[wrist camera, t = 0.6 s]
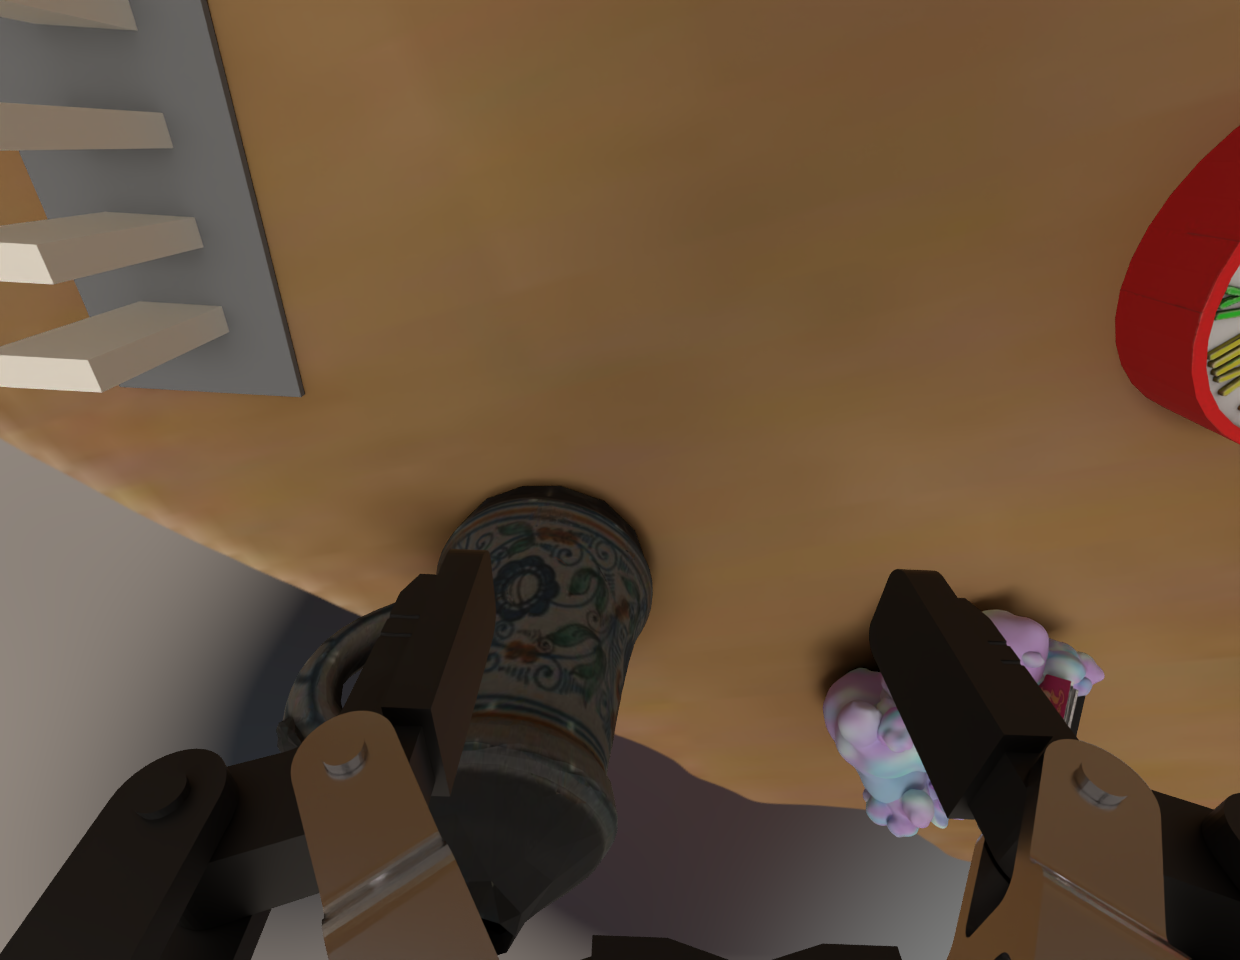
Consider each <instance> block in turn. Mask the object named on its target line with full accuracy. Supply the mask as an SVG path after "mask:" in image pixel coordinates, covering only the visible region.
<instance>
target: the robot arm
mask: <svg viewBox="0 0 1240 960" xmlns="http://www.w3.org/2000/svg"><path fill="white" fill-rule="evenodd" d="M495 620H496V604H495V594H494V585H493V575H492V566H491V557H490V553H489V551H487V550H466V549H450V550H449V551H448V552H447V554H446V556H445V559H444V561H443V563H442V566H441V568H440V570H439V573H438V575H433V574H420V575H419V576H418V577H416V578H415V579H414V580H413V581H412V582H411V583H410V584H409V585H408V586H407V587H406V588H405V589H403V590H402V591H401V592H400V594H399V596H398V598H397V600H396V602H395V604H394V606H393V608H392V610H391V612H390V617H389V619H387V620H386V622H385V624H384V626H383V628H382V630H381V635H380V637H378V639H377V641H376V643H375V645H374V647H373V649H372V651H371V653H370V655H369V657H368V659H367V661H366V663H365V665H364V667H363V669H362V671H361V673H360V675H359V677H358V679H357V681H356V683H355V685H354V687H353V689H352V691H351V693H350V695H349V697H348V699H347V702H346V703H345V706H344V707H343V709H342V711H341V712H340V714H339V715H338V716H336V717H333V718H332V719H330V720H328V721H326V722H324V723H323V724H321V725H320V726H319V727H317V728H316V729H315V730H314V731H313V732H311V733H310V734H309V735H308V736H307V737H306V739H305V740H304V741H303V742H302V744H301V745H300V746H299V747H296V748H294V749H292V750H289V751H286V752H282V753H279V754H276V755H271V756H267V757H263V758H259V759H256V760H252V761H248V762H244V763H240V764H236V765H232V766H228V767H227V766H226V765H225V763H224V761H223V760H222V758H221V757H220V756H219V755H218V754H216V753H214V752H212V751H209V750H205V749H188V750H183V751H178V752H175V753H172V754H169V755H166V756H164V757H162V758H160V759H158V760H156V761H154V762H152V763H150V764H149V765H147V766H145V767H144V768H143V769H141V770H140V771H138V772H137V773H135V774H134V775H133V776H132V777H131V778H129V779H128V780H127V781H126V782H125V783H124V784H123V785H122V786H121V787H120V788H119V789H118V790H117V791H116V792H115V794H114V795H113V796H112V797H111V799H110V800H109V801H108V803H107V804H106V806H105V807H104V809H103V810H102V811H101V813H100V814H99V815H98V817H97V819H96V820H95V821H94V823H93V824H92V825H91V827H90V828H89V829H88V831H87V832H86V834H85V835H84V837H83V838H82V839H81V841H80V842H79V844H78V845H77V846H76V848H75V849H74V851H73V852H72V854H71V855H70V856H69V858H68V859H67V860H66V862H65V863H64V865H63V866H62V868H61V869H60V871H59V872H58V873H57V875H56V876H55V877H54V879H53V880H52V882H51V883H50V884H49V886H48V887H47V889H46V890H45V892H44V893H43V894H42V896H41V897H40V898H39V900H38V901H37V903H36V904H35V906H34V907H33V908H32V910H31V911H30V913H29V914H28V915H27V917H26V918H25V920H24V921H23V922H22V924H21V926H20V927H19V928H18V930H17V931H16V932H15V934H14V935H13V936H12V938H11V939H10V941H9V942H8V944H7V945H6V946H5V948H4V949H3V951H2V952H1V954H0V960H251V958H252V955H253V953H254V950H255V948H256V945H257V943H258V940H259V937H260V935H261V933H262V931H263V928H264V926H265V923H266V920H267V918H268V916H269V913H270V911H271V908H274V907H277V906H280V905H283V904H287V903H290V902H293V901H296V900H299V899H302V898H305V897H308V896H311V895H314V894H317V893H320V897H321V901H322V905H323V911H324V919H323V920H322V930H323V936H324V941H325V946H326V951H327V955H328V959H329V960H499V958H498V956H497V953H496V951H495V949H494V947H493V944H492V942H491V940H490V937H489V935H488V933H487V931H486V928H485V926H484V924H483V922H482V919H481V917H480V915H479V912H478V910H477V908H476V906H475V903H474V901H473V899H472V896H471V894H470V892H469V890H468V887H467V885H466V883H465V880H464V878H463V876H462V874H461V871H460V869H459V867H458V865H457V862H456V860H455V858H454V856H453V854H452V852H451V850H450V848H449V846H448V844H447V843H446V841H443V839H442V837H441V835H440V833H439V831H438V829H437V827H436V824H435V822H434V820H433V817H432V815H431V813H430V810H429V808H428V804H429V801H430V798H431V796H447V797H450V795H451V791H452V788H453V784H454V780H455V777H456V773H457V769H458V765H459V762H460V758H461V754H462V751H463V747H464V743H465V739H466V736H467V732H468V728H469V725H470V721H471V717H472V713H473V710H474V706H475V702H476V699H477V695H478V691H479V687H480V684H481V680H482V676H483V673H484V669H485V665H486V661H487V658H488V654H489V650H490V647H491V643H492V639H493V635H494V629H495ZM869 641H870V647H871V651H872V654H873V656H874V659H875V661H876V663H877V665H878V667H879V670H880V672H881V674H882V676H883V678H884V681H885V683H886V685H887V687H888V689H889V692H890V694H891V696H892V698H893V700H894V703H895V705H896V707H897V709H898V711H899V713H900V716H901V718H902V720H903V722H904V724H905V727H906V729H907V731H908V733H909V735H910V738H911V740H912V742H913V744H914V746H915V749H916V751H917V753H918V755H919V757H920V759H921V762H922V764H923V766H924V768H925V770H926V773H927V775H928V777H929V779H930V781H931V784H932V786H933V788H934V790H935V792H936V795H937V797H938V799H939V801H940V803H941V806H942V808H943V810H944V812H945V814H946V816H947V818H949V819H975V820H976V822H977V824H978V826H979V828H980V830H981V832H982V834H981V835H980V837H979V838H978V840H977V842H976V844H975V848H974V852H973V857H972V861H971V866H970V870H969V874H968V879H967V883H966V888H965V892H964V897H963V901H962V906H961V910H960V914H959V919H958V923H957V927H956V932H955V936H954V940H953V944H952V947H951V950H950V953H949V955H948V957H947V960H1240V793H1237V794H1233V795H1231V796H1229V797H1228V798H1227V799H1226V800H1224V801H1223V802H1222V803H1221V804H1220V805H1219V806H1218V807H1216V808H1215V809H1210V808H1207V807H1204V806H1201V805H1198V804H1195V803H1191V802H1188V801H1185V800H1182V799H1179V798H1176V797H1172V796H1169V795H1166V794H1163V793H1160V792H1157V791H1153V790H1151V789H1150V788H1149V787H1148V785H1147V784H1146V783H1145V782H1144V780H1143V779H1142V778H1141V777H1140V776H1139V775H1138V774H1137V773H1136V772H1135V771H1134V770H1133V769H1131V768H1130V767H1129V766H1128V765H1127V764H1125V763H1124V762H1123V761H1121V760H1120V759H1119V758H1117V757H1115V756H1114V755H1112V754H1111V753H1109V752H1107V751H1105V750H1103V749H1102V748H1099V747H1097V746H1095V745H1092V744H1089V743H1086V742H1083V741H1079V740H1078V739H1077V737H1076V736H1075V735H1074V733H1073V732H1072V730H1071V729H1070V728H1069V726H1068V725H1067V724H1066V722H1065V721H1064V719H1063V718H1062V717H1061V715H1060V714H1059V713H1058V711H1057V710H1056V708H1055V707H1054V706H1053V704H1052V703H1051V702H1050V700H1049V699H1048V697H1047V696H1046V695H1045V693H1044V692H1043V691H1042V689H1041V688H1040V686H1039V685H1038V684H1037V682H1036V681H1035V680H1034V678H1033V677H1032V675H1031V674H1030V673H1029V671H1028V670H1027V669H1026V667H1025V666H1024V665H1021V664H1020V661H1021V660H1020V659H1019V658H1018V656H1017V655H1016V653H1015V652H1014V651H1013V649H1012V648H1011V647H1010V646H1007V644H1006V642H1007V641H1006V640H1005V638H1004V637H1003V636H1002V634H1001V633H1000V631H999V630H998V629H997V627H996V626H995V625H994V623H993V622H992V620H991V619H990V618H989V617H988V616H986V615H985V614H984V613H983V612H981V611H980V610H979V609H978V608H976V607H975V606H974V605H973V604H972V603H970V602H969V601H968V600H967V599H965V598H957V596H956V595H955V593H954V592H953V591H952V589H951V588H950V586H949V585H948V583H947V582H946V580H945V579H944V577H943V576H942V575H941V574H940V573H939V572H937V571H929V570H905V569H896V570H894V571H893V572H892V573H891V574H890V576H889V578H888V581H887V583H886V586H885V588H884V591H883V593H882V596H881V598H880V601H879V603H878V606H877V608H876V611H875V614H874V616H873V619H872V621H871V624H870V630H869ZM582 960H728V959H724V958H722V957H719V956H716V955H714V954H711V953H708V952H705V951H703V950H700V949H697V948H694V947H691V946H689V945H686V944H683V943H680V942H678V941H675V940H672V939H669V938H656V937H629V936H601V935H593V939H592V956H591V957H588V958H585V959H582ZM773 960H902V959H901V956H900V953H899V950H898V947H897V946H871V945H870V946H868V945H844V944H821V945H817V946H814V947H811V948H808V949H805V950H802V951H798V952H795V953H792V954H789V955H786V956H783V957H780V958H776V959H773Z"/></svg>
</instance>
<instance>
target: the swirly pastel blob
mask: <svg viewBox="0 0 1240 960" xmlns="http://www.w3.org/2000/svg"><path fill="white" fill-rule="evenodd" d="M982 612H983V613H984V614H985V615H986V616H988V617H989V618H990V619H991V620H992V622H993V623H994V625H995V626H996V627H997V629H998V630H999V631H1000V633H1001V634H1002V636H1003V637H1004V638H1005V640H1006V641H1007V642H1006V644H1007V646H1010V647H1011V648H1012V649H1013V651H1014V652H1015V653H1016V655H1017V656H1018V658H1019V659H1020V660H1021V661H1020V664H1021V665H1024V666H1025V667H1026V669H1027V670H1028V671H1029V673H1030V674H1031V675H1032V677H1033V678H1034V680H1035V681H1036V682H1037V684H1038V685H1039V686H1040V688H1041V689H1042V691H1043V692H1044V693H1045V695H1046V696H1047V697H1048V699H1049V700H1050V702H1051V703H1052V704H1053V706H1054V707H1055V708H1056V710H1057V711H1058V713H1059V714H1060V715H1061V717H1062V718H1063V719H1064V721H1065V722H1066V724H1067V725H1068V726H1069V728H1070V729H1071V730H1072V732H1073V733H1074V735H1075V736H1076V735H1077V730H1078V726H1079V722H1080V717H1081V713H1082V708H1083V704H1084V699H1085V695H1087V694H1088V693H1089V692H1090V690H1091V688H1092V685H1093V684H1095V683H1096V682H1099V681H1101V680H1103V679H1104V672H1103V671H1102V669H1101V668H1100V667H1099V666H1098V665H1097V664H1096V663H1095V661H1094V659H1093V658H1092V657H1091V656H1089V655H1088V654H1086V653H1083V652H1077V651H1075V650H1074V649H1073V648H1072V647H1071V646H1070V645H1068V644H1066V643H1063V642H1059V641H1055V640H1053V639H1051V638H1049V637H1048V634H1047V632H1046V630H1045V629H1044V628H1043V626H1042V625H1040V624H1039V623H1037V622H1036V621H1034V620H1032V619H1030V618H1028V617H1020V616H1016V615H1014V614H1012V613H1010V612H1008V611H1004V610H998V609H996V610H986V611H982ZM823 713H824V719H825V723H826V727H827V729H828V732H829V733H830V735H831V737H832V738H833V740H834V741H835V743H836V747H837V749H838V751H839V753H840V754H841V756H842V757H843V758H844V759H845V760H846V761H847V762H848V763H850V764H851V765H852V766H854V767H855V769H856V770H857V772H858V774H859V775H860V778H861V780H862V783H863V785H864V787H865V789H864V792H863V798H864V800H865V801H866V812H867V815H868V816H869V817H870V819H871V820H872V821H873V822H874V823H876V824H878V825H887V826H888V829H889V830H890V831H891V832H892V834H894V835H895V836H897V837H902V836H906V837H910V836H913V835H915V834H916V833H917V832H918V829H919V828H925V827H927V826H928V825H929V823H930V822H932V823H933V824H934V825H936V826H937V827H939V828H946V827H947V825H948V819H949V818H947V816H946V814H945V812H944V810H943V808H942V806H941V803H940V801H939V799H938V797H937V795H936V792H935V790H934V788H933V786H932V784H931V781H930V779H929V777H928V775H927V773H926V770H925V768H924V766H923V764H922V762H921V759H920V757H919V755H918V753H917V751H916V749H915V746H914V744H913V742H912V740H911V738H910V735H909V733H908V731H907V729H906V727H905V724H904V722H903V720H902V718H901V716H900V713H899V711H898V709H897V707H896V705H895V703H894V700H893V698H892V696H891V694H890V692H889V689H888V687H887V685H886V683H885V681H884V678H883V676H882V674H881V672H880V673H879V672H874V671H870V670H868V669H866V668H857V669H855V670H852V671H850V672H848V673H847V674H845V675H844V676H843V677H841V678H840V679H839V680H837V681H836V682H835V683H834V684H833V685H832V686H831V687H830V688H829V690H828V693H827V696H826V698H825V701H824V705H823ZM958 820H963V819H958ZM977 825H978V824H977ZM978 828H979V826H978ZM979 829H980V828H979Z"/></svg>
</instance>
